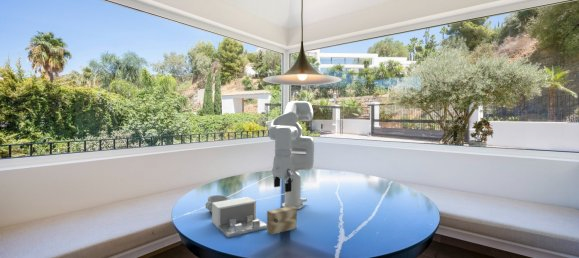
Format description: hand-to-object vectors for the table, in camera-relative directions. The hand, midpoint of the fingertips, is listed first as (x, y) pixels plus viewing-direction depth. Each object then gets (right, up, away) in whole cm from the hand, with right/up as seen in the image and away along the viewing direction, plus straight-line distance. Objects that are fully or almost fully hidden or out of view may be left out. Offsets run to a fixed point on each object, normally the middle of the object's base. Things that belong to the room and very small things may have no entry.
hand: (282, 189), depth 134 cm
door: (0, -20, +1) cm, 20 cm away
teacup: (-38, -18, +23) cm, 48 cm away
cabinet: (-25, -19, +11) cm, 33 cm away
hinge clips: (-19, -19, +3) cm, 27 cm away
